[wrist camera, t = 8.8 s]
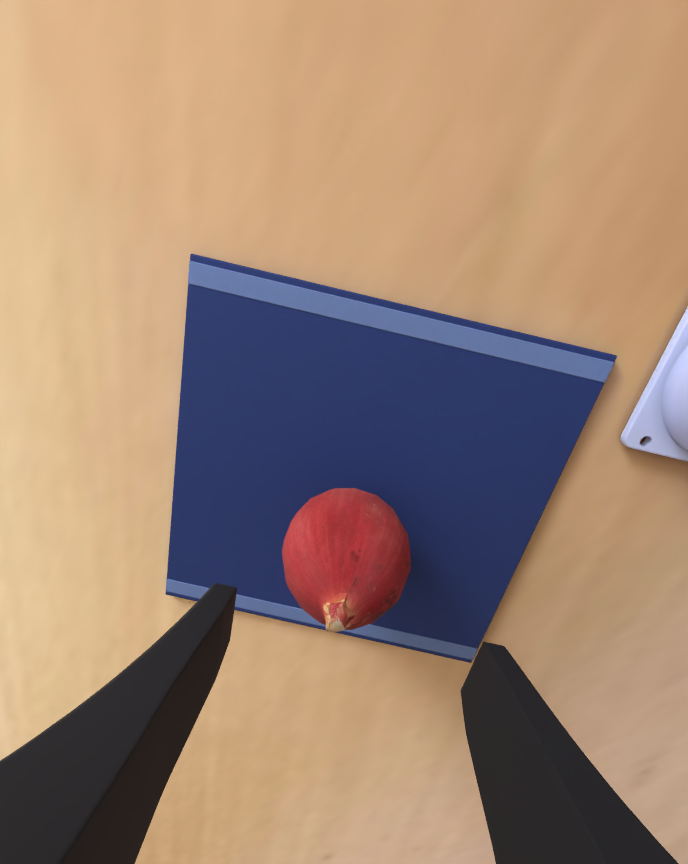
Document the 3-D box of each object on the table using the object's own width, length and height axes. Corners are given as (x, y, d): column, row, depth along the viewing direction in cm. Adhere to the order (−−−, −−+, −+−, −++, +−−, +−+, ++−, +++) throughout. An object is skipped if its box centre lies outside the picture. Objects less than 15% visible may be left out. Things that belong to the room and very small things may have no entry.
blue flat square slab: (612, 354, 17) (618, 355, 17) (469, 657, 24) (471, 663, 23) (194, 254, 17) (189, 253, 16) (168, 589, 23) (165, 595, 23)
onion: (425, 508, 20) (460, 631, 12) (355, 570, 22) (348, 712, 14) (344, 441, 19) (329, 531, 11) (277, 511, 21) (226, 631, 13)
